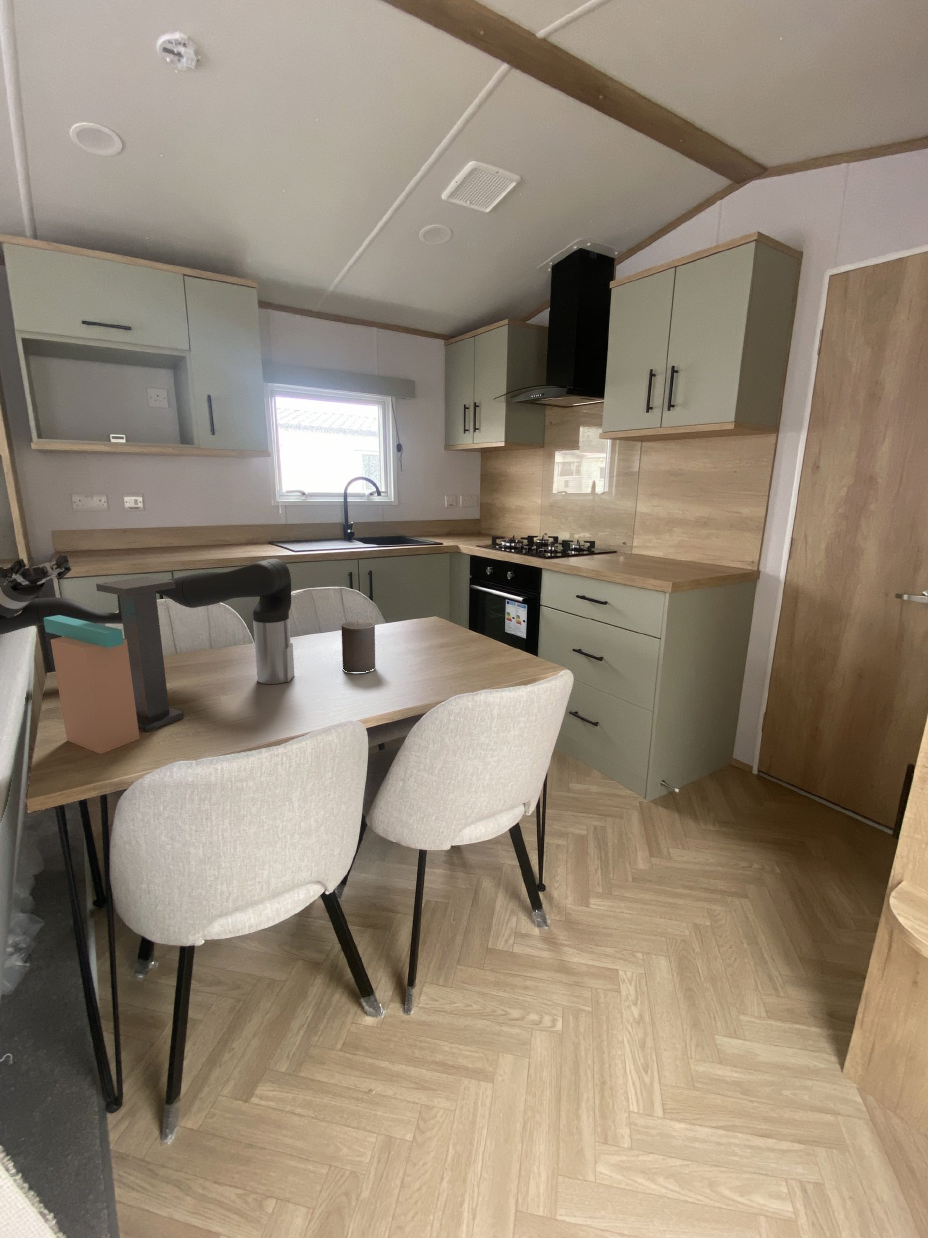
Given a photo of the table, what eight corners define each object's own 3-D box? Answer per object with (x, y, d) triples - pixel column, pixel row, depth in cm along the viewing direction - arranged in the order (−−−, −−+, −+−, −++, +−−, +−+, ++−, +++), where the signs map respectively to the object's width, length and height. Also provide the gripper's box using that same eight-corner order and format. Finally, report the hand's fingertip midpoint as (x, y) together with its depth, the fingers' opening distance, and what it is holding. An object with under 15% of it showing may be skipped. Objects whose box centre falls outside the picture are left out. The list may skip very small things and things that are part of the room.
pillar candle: (335, 671, 161) (334, 621, 158) (354, 662, 170) (353, 614, 166) (364, 676, 158) (363, 625, 154) (382, 666, 167) (381, 618, 163)
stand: (115, 724, 124) (95, 583, 116) (161, 708, 133) (146, 576, 126) (143, 734, 119) (124, 588, 112) (189, 716, 129) (174, 581, 121)
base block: (67, 740, 116) (50, 639, 111) (106, 726, 123) (92, 630, 118) (100, 754, 111) (84, 649, 105) (139, 738, 118) (126, 639, 112)
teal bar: (45, 631, 116) (43, 617, 116) (61, 628, 119) (59, 615, 118) (108, 648, 106) (106, 632, 106) (123, 644, 109) (121, 629, 108)
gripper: (-24, 578, 128) (0, 548, 120) (45, 570, 141) (71, 542, 132) (-10, 608, 128) (14, 579, 120) (58, 597, 141) (84, 570, 132)
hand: (44, 560), depth 126 cm, fingers open, 8 cm apart
